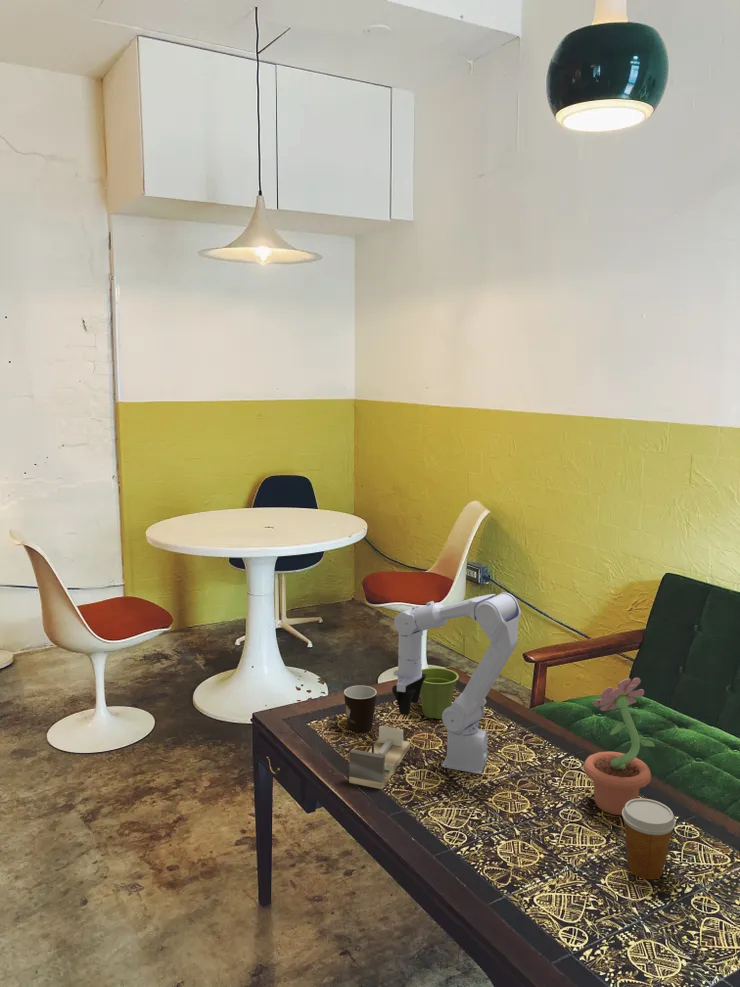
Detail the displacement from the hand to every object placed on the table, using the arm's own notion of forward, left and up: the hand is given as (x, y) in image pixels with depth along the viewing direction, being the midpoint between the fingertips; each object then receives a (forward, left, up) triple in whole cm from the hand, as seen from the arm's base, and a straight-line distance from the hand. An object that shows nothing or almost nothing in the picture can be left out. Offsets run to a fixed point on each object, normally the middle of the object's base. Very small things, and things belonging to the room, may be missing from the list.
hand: (409, 708), depth 194 cm
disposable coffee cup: (-57, +32, -10) cm, 66 cm away
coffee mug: (+15, -5, -10) cm, 18 cm away
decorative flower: (-51, +11, -10) cm, 53 cm away
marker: (+2, +18, -8) cm, 20 cm away
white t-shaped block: (+3, +9, -8) cm, 12 cm away
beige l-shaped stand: (+3, +12, -9) cm, 16 cm away
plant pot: (-2, -19, -10) cm, 21 cm away
